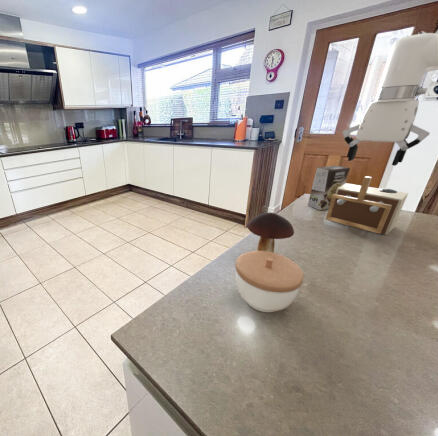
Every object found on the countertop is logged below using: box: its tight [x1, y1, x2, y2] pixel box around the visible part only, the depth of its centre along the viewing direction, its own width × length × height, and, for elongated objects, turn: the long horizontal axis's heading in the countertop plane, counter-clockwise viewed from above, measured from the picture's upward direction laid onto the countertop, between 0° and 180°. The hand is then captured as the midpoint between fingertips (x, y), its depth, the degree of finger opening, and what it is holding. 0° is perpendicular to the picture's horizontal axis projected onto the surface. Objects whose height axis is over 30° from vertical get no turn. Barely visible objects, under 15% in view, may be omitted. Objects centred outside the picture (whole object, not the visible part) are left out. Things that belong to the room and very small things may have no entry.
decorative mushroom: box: [246, 212, 295, 253], centre depth 61 cm, size 11×11×15 cm
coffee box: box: [307, 164, 351, 211], centre depth 93 cm, size 9×6×16 cm
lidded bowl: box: [234, 250, 305, 313], centre depth 50 cm, size 13×13×11 cm
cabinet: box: [331, 182, 409, 236], centre depth 77 cm, size 16×18×12 cm
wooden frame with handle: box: [325, 175, 392, 234], centre depth 72 cm, size 14×1×16 cm, turn 36°
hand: (371, 162), depth 67 cm, fingers open, 9 cm apart
